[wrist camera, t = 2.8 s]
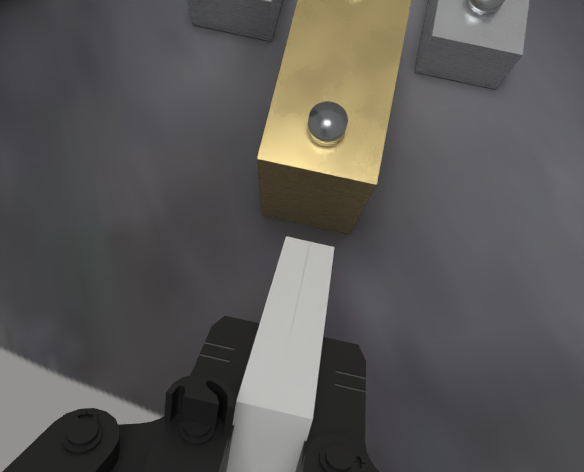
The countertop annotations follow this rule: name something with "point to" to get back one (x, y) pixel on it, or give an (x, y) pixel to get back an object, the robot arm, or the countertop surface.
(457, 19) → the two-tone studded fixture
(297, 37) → the gold studded block
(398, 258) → the countertop surface
